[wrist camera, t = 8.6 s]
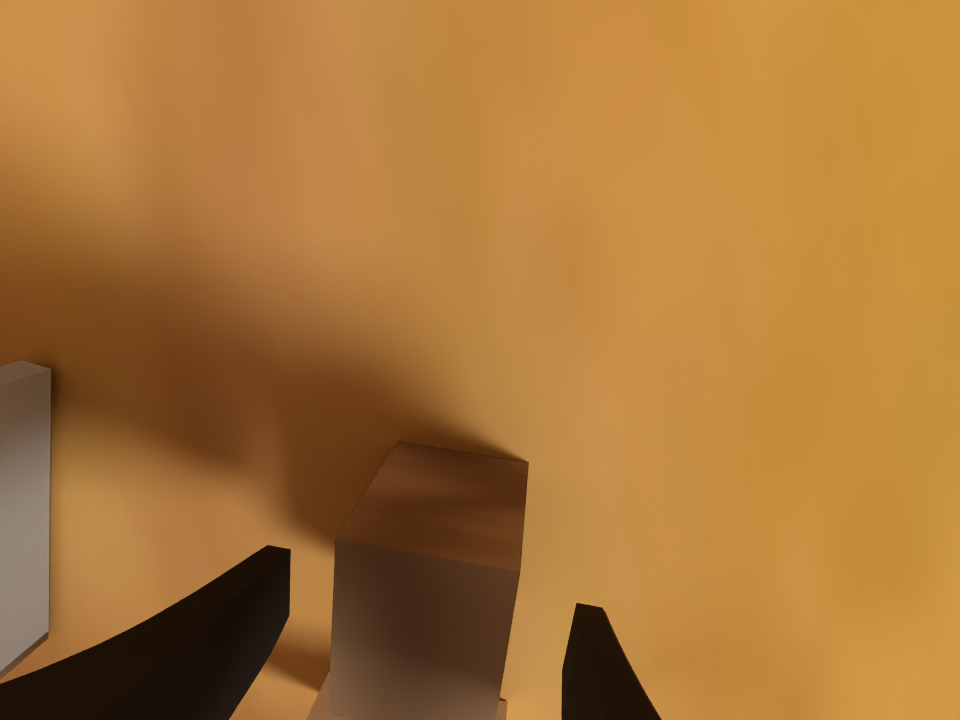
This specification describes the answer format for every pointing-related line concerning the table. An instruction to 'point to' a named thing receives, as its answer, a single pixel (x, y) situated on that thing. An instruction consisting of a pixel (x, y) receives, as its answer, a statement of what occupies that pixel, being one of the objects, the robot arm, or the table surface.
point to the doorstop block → (427, 587)
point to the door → (24, 510)
